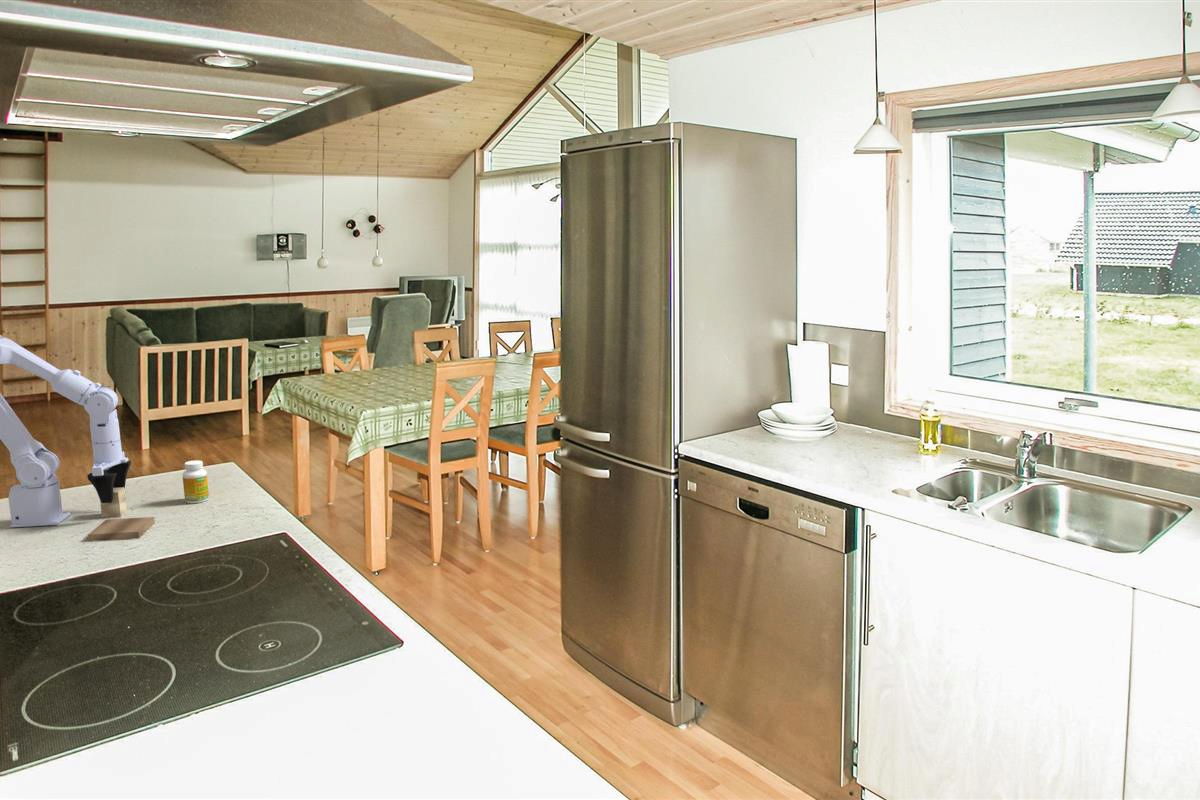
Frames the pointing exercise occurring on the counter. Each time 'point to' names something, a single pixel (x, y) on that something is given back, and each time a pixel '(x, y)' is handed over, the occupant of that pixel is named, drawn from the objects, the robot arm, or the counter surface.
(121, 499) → the birch block
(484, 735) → the counter surface
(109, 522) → the walnut block
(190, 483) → the supplement bottle
